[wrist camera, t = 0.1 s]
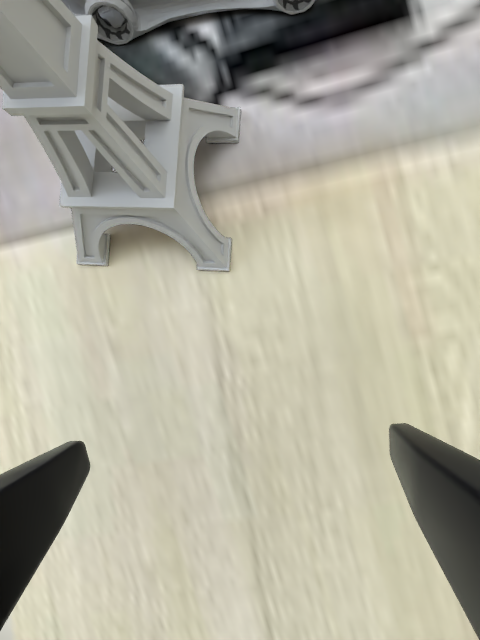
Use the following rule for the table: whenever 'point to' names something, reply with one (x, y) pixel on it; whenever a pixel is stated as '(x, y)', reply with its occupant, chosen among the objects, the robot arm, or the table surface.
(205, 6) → the car model
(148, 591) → the table surface
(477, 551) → the robot arm
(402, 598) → the table surface
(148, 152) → the eiffel tower
